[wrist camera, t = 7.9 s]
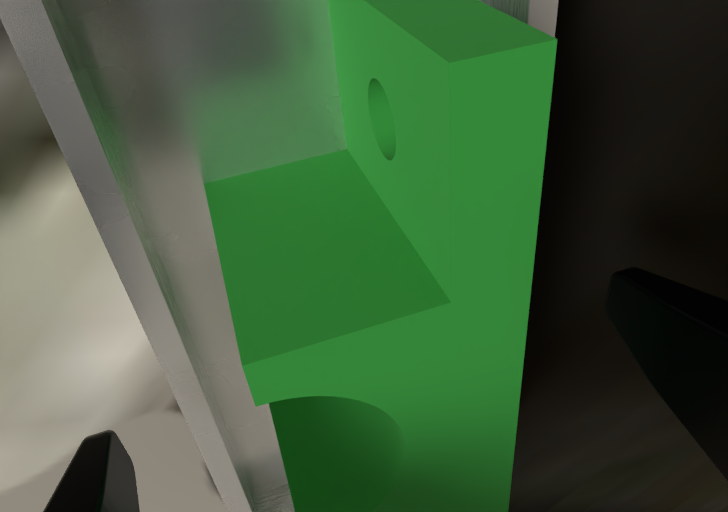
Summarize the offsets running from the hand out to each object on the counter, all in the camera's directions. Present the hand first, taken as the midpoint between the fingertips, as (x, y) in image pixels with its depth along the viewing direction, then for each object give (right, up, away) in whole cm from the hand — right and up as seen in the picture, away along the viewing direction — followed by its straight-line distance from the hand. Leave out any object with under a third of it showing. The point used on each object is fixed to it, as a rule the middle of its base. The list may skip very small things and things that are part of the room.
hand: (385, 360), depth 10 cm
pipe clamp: (-1, +2, +2) cm, 3 cm away
